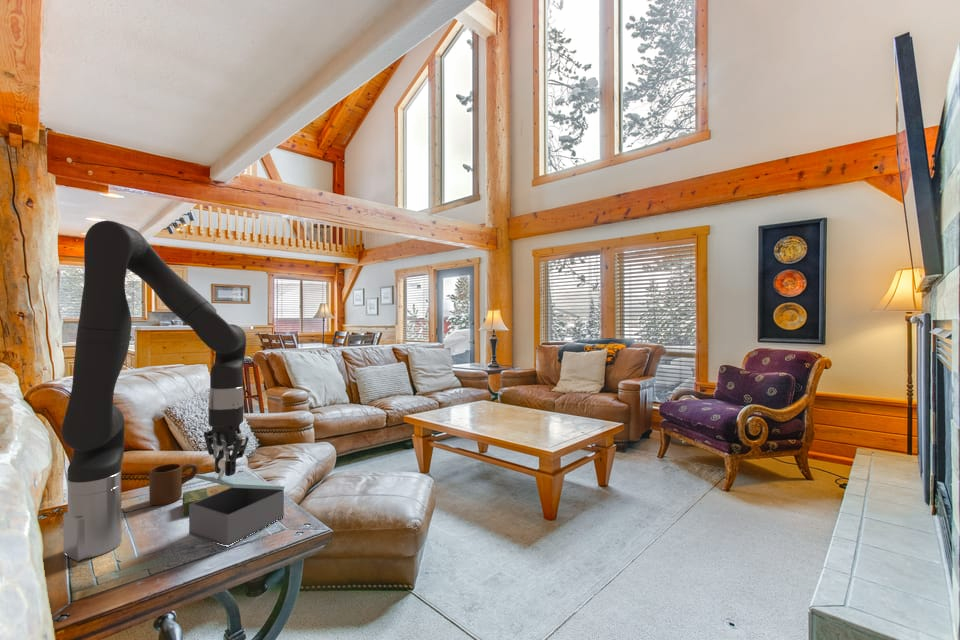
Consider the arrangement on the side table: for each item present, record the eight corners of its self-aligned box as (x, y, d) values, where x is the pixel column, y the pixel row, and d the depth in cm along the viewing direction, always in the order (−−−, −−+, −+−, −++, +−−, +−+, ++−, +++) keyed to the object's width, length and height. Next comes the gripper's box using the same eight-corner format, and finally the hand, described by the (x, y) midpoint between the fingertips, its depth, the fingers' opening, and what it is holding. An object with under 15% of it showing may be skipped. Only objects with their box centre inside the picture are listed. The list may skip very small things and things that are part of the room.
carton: (250, 503, 124) (250, 488, 124) (183, 518, 115) (183, 502, 115) (246, 492, 131) (246, 478, 131) (182, 506, 121) (182, 491, 121)
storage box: (227, 547, 100) (227, 516, 100) (189, 534, 106) (189, 504, 106) (283, 517, 115) (283, 490, 115) (247, 507, 121) (247, 480, 120)
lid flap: (232, 487, 101) (241, 461, 103) (194, 477, 107) (203, 452, 109) (283, 489, 115) (290, 466, 117) (247, 480, 120) (254, 458, 122)
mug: (194, 487, 133) (194, 457, 132) (202, 495, 128) (202, 463, 128) (146, 500, 124) (146, 468, 123) (153, 509, 119) (153, 475, 118)
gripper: (192, 404, 106) (191, 473, 106) (231, 411, 100) (230, 484, 101) (221, 399, 113) (220, 464, 113) (259, 405, 107) (258, 473, 107)
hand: (225, 473), depth 107 cm, fingers closed on lid flap, 3 cm apart
